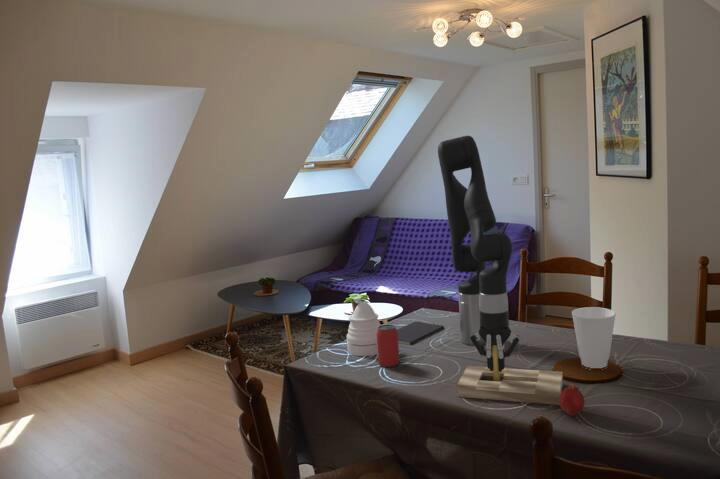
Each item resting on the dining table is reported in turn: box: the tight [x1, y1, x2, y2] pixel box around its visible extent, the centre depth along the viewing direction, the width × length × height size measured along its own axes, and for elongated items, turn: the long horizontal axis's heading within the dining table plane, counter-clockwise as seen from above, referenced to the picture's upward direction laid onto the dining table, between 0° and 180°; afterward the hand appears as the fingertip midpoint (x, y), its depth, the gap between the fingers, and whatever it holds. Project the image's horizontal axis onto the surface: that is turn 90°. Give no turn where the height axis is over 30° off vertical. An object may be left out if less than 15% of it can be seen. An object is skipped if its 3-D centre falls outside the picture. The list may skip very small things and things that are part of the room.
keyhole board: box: [456, 365, 564, 406], centre depth 165 cm, size 14×26×3 cm, turn 69°
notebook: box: [396, 321, 445, 346], centre depth 221 cm, size 13×2×21 cm
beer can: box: [377, 324, 400, 368], centre depth 191 cm, size 7×7×12 cm
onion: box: [559, 383, 585, 417], centre depth 148 cm, size 6×6×8 cm
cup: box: [571, 306, 616, 368], centre depth 178 cm, size 12×12×16 cm
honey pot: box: [346, 296, 382, 357], centre depth 206 cm, size 13×13×18 cm
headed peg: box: [492, 345, 501, 382], centre depth 166 cm, size 4×4×13 cm
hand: (496, 370), depth 166 cm, fingers closed on headed peg, 2 cm apart
